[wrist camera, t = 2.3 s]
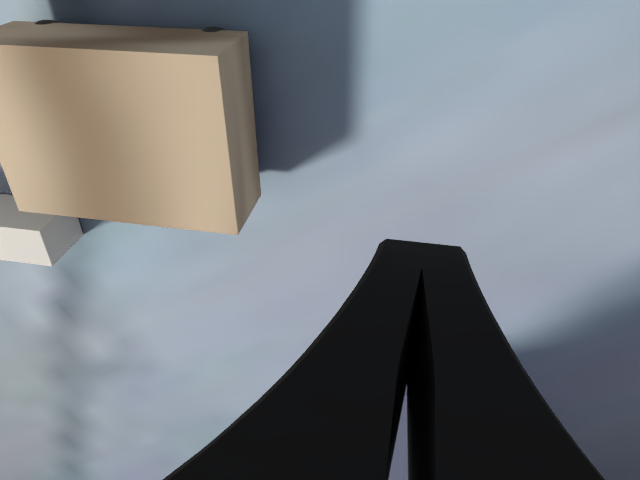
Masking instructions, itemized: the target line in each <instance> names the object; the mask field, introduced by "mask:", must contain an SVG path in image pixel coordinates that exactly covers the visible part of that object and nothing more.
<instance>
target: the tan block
mask: <svg viewBox="0 0 640 480" xmlns="http://www.w3.org/2000/svg"><path fill="white" fill-rule="evenodd" d="M0 163H1V165H2V168H3V171H4V173H5V176H6V178H7V181H8V184H9V186H10V189H11V191H12V194H13V197H14V199H15V202H16V204H17V207H18V209H19V211H23V212H33V213H42V214H51V215H60V216H69V217H78V218H88V219H97V220H106V221H115V222H124V223H133V224H142V225H152V226H161V227H170V228H179V229H188V230H197V231H207V232H216V233H225V234H234V235H238V234H239V232H240V231H241V229H242V227H243V225H244V224H245V222H246V220H247V218H248V217H249V215H250V213H251V211H252V210H253V208H254V206H255V204H256V203H257V201H258V199H259V197H260V196H261V189H260V177H259V165H258V152H257V140H256V128H255V115H254V103H253V90H252V78H251V66H250V53H249V41H248V31H231V30H225V29H222V28H218V27H208V28H204V29H185V28H162V27H140V26H117V25H94V24H71V23H60V22H57V21H53V20H41V21H38V22H26V21H12V22H9V23H7V24H4V25H1V26H0Z"/></svg>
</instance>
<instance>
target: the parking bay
mask: <svg viewBox="0 0 640 480" xmlns="http://www.w3.org/2000/svg"><path fill="white" fill-rule="evenodd" d="M82 236H83V232H82V229H81V226H80V223H79V220H78V217H69V216H60V215H51V214H42V213H33V212H23V211H19V209H18V207H17V204H16V202H15V199H14V197H13V195H6V194H0V260H7V261H15V262H23V263H31V264H39V265H47V266H53V265H54V264H55V263H56V262H57V261H58V260H59V259H60V258H61V257H62V256H63V255H64V254H65V253H66V252H67V251H68V250H69V249H70V248H71V247H72V246H73V245H74V244H75V243H76V242H77V241H78V240H79V239H80V238H81V237H82Z"/></svg>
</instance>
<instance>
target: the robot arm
mask: <svg viewBox="0 0 640 480" xmlns="http://www.w3.org/2000/svg"><path fill="white" fill-rule="evenodd" d="M163 480H605V479H604V478H603V477H602V476H601V474H600V473H599V472H598V471H597V469H596V468H595V467H594V466H593V464H592V463H591V462H590V461H589V459H588V458H587V457H586V456H585V454H584V453H583V452H582V451H581V449H580V448H579V447H578V445H577V444H576V443H575V441H574V440H573V439H572V437H571V436H570V435H569V433H568V432H567V431H566V429H565V428H564V427H563V425H562V424H561V423H560V421H559V420H558V418H557V417H556V416H555V414H554V413H553V411H552V410H551V409H550V407H549V406H548V404H547V403H546V401H545V400H544V398H543V397H542V395H541V394H540V393H539V391H538V390H537V388H536V386H535V385H534V383H533V382H532V380H531V379H530V377H529V376H528V374H527V372H526V371H525V369H524V368H523V366H522V365H521V363H520V361H519V360H518V358H517V356H516V355H515V353H514V351H513V350H512V348H511V346H510V345H509V343H508V341H507V339H506V337H505V336H504V334H503V332H502V330H501V328H500V327H499V325H498V323H497V321H496V319H495V318H494V316H493V314H492V312H491V310H490V308H489V306H488V304H487V302H486V300H485V298H484V296H483V294H482V292H481V290H480V288H479V285H478V283H477V281H476V279H475V276H474V274H473V272H472V269H471V267H470V264H469V261H468V258H467V255H466V253H465V252H464V251H463V249H462V248H461V247H459V246H449V245H440V244H430V243H421V242H411V241H402V240H392V239H386V240H384V241H383V242H381V243H380V244H379V246H378V248H377V251H376V253H375V255H374V257H373V259H372V261H371V263H370V264H369V266H368V268H367V269H366V271H365V273H364V274H363V276H362V278H361V279H360V281H359V282H358V284H357V285H356V287H355V288H354V290H353V291H352V292H351V294H350V295H349V297H348V298H347V299H346V301H345V302H344V304H343V305H342V306H341V308H340V309H339V311H338V312H337V313H336V315H335V316H334V317H333V319H332V320H331V321H330V322H329V324H328V325H327V326H326V327H325V328H324V330H323V331H322V332H321V333H320V334H319V336H318V337H317V338H316V339H315V340H314V342H313V343H312V344H311V345H310V346H309V348H308V349H307V350H306V351H305V352H304V353H303V354H302V356H301V357H300V358H299V359H298V360H297V361H296V362H295V363H294V364H293V365H292V367H291V368H290V369H289V370H288V371H287V372H286V373H285V374H284V375H283V376H282V377H281V378H280V379H279V380H278V381H277V382H276V383H275V384H274V385H273V386H272V387H271V388H270V389H269V390H268V391H267V392H266V393H265V394H264V395H263V396H262V397H261V398H260V399H259V400H258V401H257V402H256V403H254V404H253V405H252V406H251V407H250V408H249V409H248V410H247V411H246V412H244V413H243V414H242V415H241V416H240V417H239V418H238V419H237V420H236V421H234V422H233V423H232V424H231V425H230V426H229V427H228V428H227V429H226V430H224V431H223V432H222V433H221V434H220V435H219V436H217V437H216V438H215V439H214V440H213V441H212V442H210V443H209V444H208V445H207V446H206V447H204V448H203V449H202V450H201V451H199V452H198V453H197V454H196V455H194V456H193V457H192V458H190V459H189V460H188V461H186V462H185V463H184V464H183V465H181V466H180V467H179V468H177V469H176V470H175V471H173V472H172V473H171V474H169V475H168V476H167V477H166V478H164V479H163Z"/></svg>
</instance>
